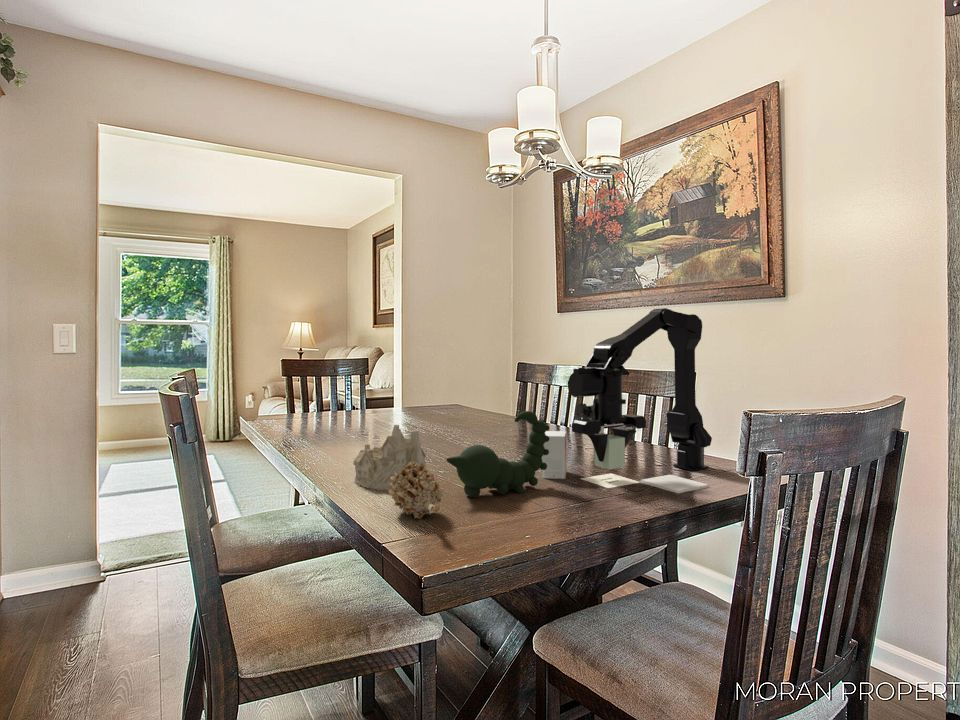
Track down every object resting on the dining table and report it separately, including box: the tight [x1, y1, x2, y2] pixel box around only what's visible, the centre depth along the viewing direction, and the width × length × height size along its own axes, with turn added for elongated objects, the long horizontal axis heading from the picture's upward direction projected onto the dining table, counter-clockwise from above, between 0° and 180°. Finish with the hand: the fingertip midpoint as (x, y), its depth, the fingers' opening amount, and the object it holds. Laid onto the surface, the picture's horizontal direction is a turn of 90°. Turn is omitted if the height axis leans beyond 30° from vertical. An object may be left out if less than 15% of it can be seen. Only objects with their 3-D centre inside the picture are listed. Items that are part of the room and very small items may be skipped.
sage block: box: [594, 434, 626, 470], centre depth 135 cm, size 5×5×7 cm
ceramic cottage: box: [352, 424, 427, 491], centre depth 136 cm, size 16×16×15 cm
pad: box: [640, 474, 709, 494], centre depth 131 cm, size 10×11×1 cm
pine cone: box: [387, 461, 444, 520], centre depth 107 cm, size 22×10×10 cm, turn 27°
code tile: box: [579, 472, 641, 489], centre depth 135 cm, size 10×10×1 cm
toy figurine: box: [445, 410, 550, 499], centre depth 125 cm, size 9×19×25 cm
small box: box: [542, 430, 568, 480], centre depth 141 cm, size 8×6×10 cm
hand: (609, 459), depth 135 cm, fingers closed on sage block, 5 cm apart
